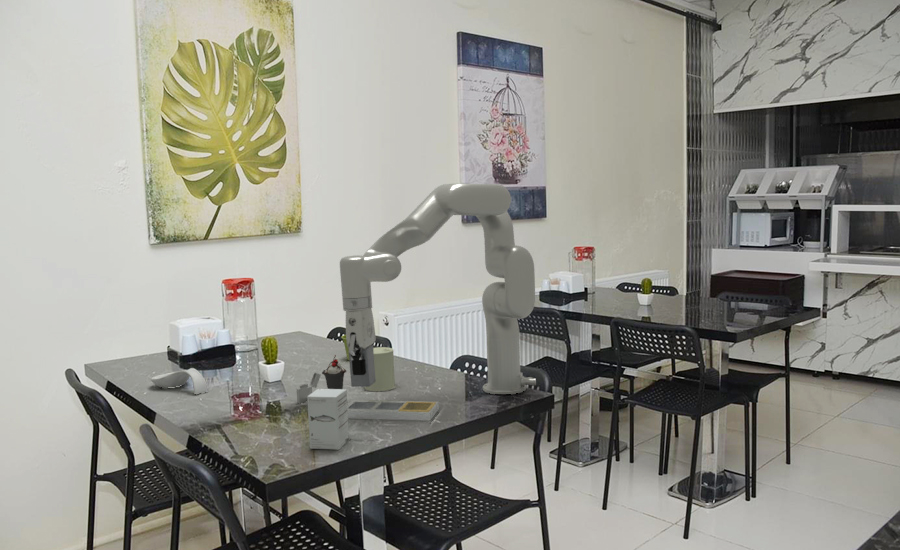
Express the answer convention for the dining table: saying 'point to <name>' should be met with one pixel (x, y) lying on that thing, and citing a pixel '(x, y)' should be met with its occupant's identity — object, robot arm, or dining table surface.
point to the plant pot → (346, 346)
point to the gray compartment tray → (392, 410)
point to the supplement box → (328, 418)
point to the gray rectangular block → (369, 374)
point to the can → (383, 370)
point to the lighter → (307, 389)
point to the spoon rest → (181, 380)
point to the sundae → (334, 375)
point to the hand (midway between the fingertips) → (362, 371)
